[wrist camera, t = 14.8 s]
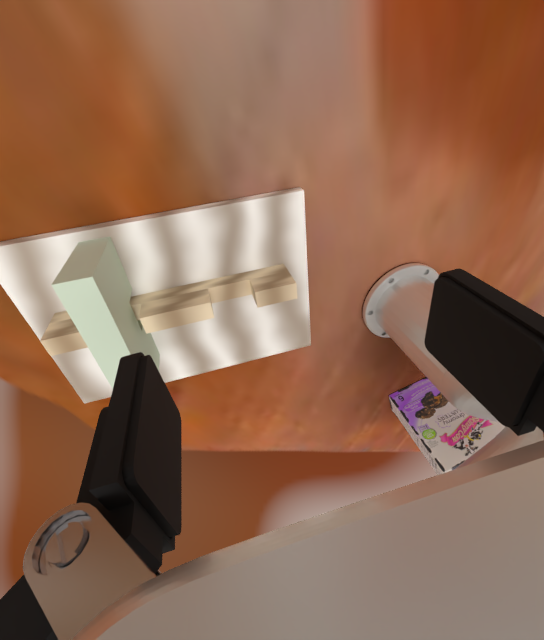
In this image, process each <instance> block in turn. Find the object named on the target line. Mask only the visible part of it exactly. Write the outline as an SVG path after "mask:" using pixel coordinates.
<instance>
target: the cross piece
mask: <svg viewBox="0 0 544 640" xmlns="http://www.w3.org/2000/svg"><path fill="white" fill-rule="evenodd" d="M52 287H53V289H54V290H55V292H56V294H57V295H58V297H59V299H60V301H61V302H62V304H63V306H64V307H65V309H66V311H67V312H68V314H69V316H70V318H71V319H72V321H73V323H74V324H75V326H76V328H77V329H78V331H79V333H80V334H81V336H82V338H83V340H84V341H85V343H86V345H87V346H88V348H89V350H90V351H91V353H92V355H93V357H94V358H95V360H96V362H97V363H98V365H99V367H100V368H101V370H102V372H103V374H104V375H105V377H106V379H107V380H108V382H109V384H110V385H111V387H112V389H113V387H114V382H115V378H116V374H117V370H118V366H119V361H120V359H121V357H124V356H127V355H131V354H135V353H139V352H142V353H143V354H144V355H145V356H146V355H150V356H151V357H152V359H153V361H154V363H155V365H156V367H157V369H158V371H159V362H160V354H159V351H158V349H157V347H156V344H155V342H154V340H153V337H152V335H151V333H148V334H146V332H145V330H144V328H143V325H142V323H141V321H140V320H137V319H136V317H135V314H134V312H133V310H132V307H131V305H130V303H129V302H130V298H131V293H132V287H131V285H130V282H129V280H128V278H127V275H126V273H125V270H124V268H123V266H122V263H121V261H120V259H119V256H118V254H117V251H116V249H115V247H114V244H113V242H112V239H111V237H104V238H99V239H94V240H88V241H83V242H78V244H77V246H76V247H75V249H74V250H73V252H72V253H71V255H70V257H69V258H68V260H67V261H66V263H65V264H64V266H63V267H62V269H61V271H60V272H59V274H58V275H57V277H56V278H55V280H54V281H53V283H52Z"/></svg>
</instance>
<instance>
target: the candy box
mask: <svg viewBox="0 0 544 640" xmlns="http://www.w3.org/2000/svg"><path fill="white" fill-rule="evenodd" d="M389 400H390V404H391V409H392V411H393V412H394V413H395V415H396V416H397V417H398V419H399V420H400V422H401V423H402V424H403V426H404V427H405V429H406V430H407V432H408V433H409V434H410V436H411V437H412V439H413V440H414V442H415V443H416V445H417V446H418V448H419V449H420V450H421V452H422V453H423V455H424V456H425V458H426V459H427V460H428V462H429V463H430V465H431V466H432V467H433V469H434V470H435V472H436V473H437V475H440V474H443V473H446V472H449V471H452V470H455V469H456V468H457V467H458V466H459V465H460V464H462V463H463V462H464V461H465V460H466V459H468V458H469V457H470V456H472V455H473V454H474V453H476V452H477V451H478V450H479V449H481V448H482V447H483V446H485V445H486V444H487V443H488V442H490V441H491V440H492V439H494V438H495V437H496V435H497V434H499V433H500V432H501V431H502V430H503V429H504V428H505V426H503V425H502V424H501V423H500V422H495V421H490V420H484V419H480V418H476V417H473V416H470V415H467V414H465V413H463V412H462V411H460V410H458V409H457V408H456V407H454V406H453V405H452V404H451V403H450V402H449V401H448V400H447V399H446V398H445V397H444V396H443V395H442V393H441V392H440V391H439V390H438V389H437V388H436V387H435V386H434V385H433V384H432V383H431V381H430V380H429V379H428V378H427V377H426V378H424V379H422V380H420V381H418V382H415V383H413V384H411V385H409V386H407V387H405V388H403V389H401V390H399V391H397V392H394V393H392V394H390V395H389Z"/></svg>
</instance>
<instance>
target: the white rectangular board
mask: <svg viewBox="0 0 544 640" xmlns="http://www.w3.org/2000/svg"><path fill="white" fill-rule="evenodd" d="M104 237H111V239H112V242H113V244H114V247H115V249H116V251H117V254H118V256H119V259H120V261H121V263H122V266H123V268H124V270H125V273H126V275H127V278H128V280H129V282H130V285H131V287H132V293H131V298H130V302H129V303H130V305H131V307H132V310H133V312H134V314H135V317H136V319H137V320H140V321H141V323H142V325H143V328H144V330H145V332H146V334H148V333H151V335H152V337H153V340H154V342H155V344H156V347H157V349H158V351H159V354H160V362H159V373H160V375H161V377H162V379H163V381H164V383H166V382H170V381H174V380H178V379H181V378H185V377H189V376H193V375H197V374H201V373H205V372H209V371H213V370H216V369H220V368H224V367H228V366H232V365H236V364H240V363H244V362H248V361H251V360H255V359H259V358H263V357H267V356H271V355H275V354H279V353H282V352H286V351H290V350H294V349H298V348H302V347H306V346H310V345H311V335H310V313H309V290H308V268H307V246H306V223H305V201H304V190H303V189H301V188H300V187H298V188H292V189H287V190H281V191H276V192H270V193H265V194H259V195H254V196H248V197H243V198H237V199H232V200H226V201H221V202H215V203H210V204H204V205H199V206H193V207H188V208H182V209H177V210H171V211H166V212H161V213H155V214H150V215H144V216H139V217H133V218H128V219H122V220H117V221H111V222H106V223H100V224H95V225H89V226H84V227H78V228H73V229H67V230H62V231H56V232H51V233H45V234H40V235H34V236H29V237H23V238H18V239H12V240H7V241H1V242H0V284H1V285H2V287H3V288H4V290H5V291H6V293H7V294H8V295H9V297H10V298H11V300H12V301H13V303H14V304H15V305H16V307H17V308H18V310H19V311H20V312H21V314H22V315H23V317H24V318H25V320H26V321H27V322H28V324H29V325H30V327H31V328H32V330H33V331H34V332H35V334H36V335H37V337H38V338H39V340H40V342H41V343H42V345H43V346H44V347H45V349H46V350H47V352H48V353H49V355H50V356H51V357H52V358H53V359H54V361H55V362H56V364H57V365H58V367H59V368H60V369H61V371H62V372H63V374H64V375H65V376H66V378H67V379H68V381H69V382H70V384H71V385H72V386H73V388H74V389H75V391H76V392H77V394H78V395H79V396H80V398H81V399H82V401H83V402H84V403H88V402H92V401H96V400H100V399H104V398H108V397H111V395H112V391H113V389H112V387H111V385H110V384H109V382H108V380H107V379H106V377H105V375H104V374H103V372H102V370H101V368H100V367H99V365H98V363H97V362H96V360H95V358H94V357H93V355H92V353H91V351H90V350H89V348H88V346H87V345H86V343H85V341H84V340H83V338H82V336H81V334H80V333H79V331H78V329H77V328H76V326H75V324H74V323H73V321H72V319H71V318H70V316H69V314H68V312H67V311H66V309H65V307H64V306H63V304H62V302H61V301H60V299H59V297H58V295H57V294H56V292H55V290H54V289H53V287H52V283H53V281H54V280H55V278H56V277H57V275H58V274H59V272H60V271H61V269H62V267H63V266H64V264H65V263H66V261H67V260H68V258H69V257H70V255H71V253H72V252H73V250H74V249H75V247H76V246H77V244H78V242H83V241H88V240H94V239H99V238H104Z"/></svg>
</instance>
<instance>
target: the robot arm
mask: <svg viewBox="0 0 544 640" xmlns="http://www.w3.org/2000/svg"><path fill="white" fill-rule="evenodd" d="M363 320H364V322H365V325H366V326H367V327H368V329H369V330H370V331H371V332H372V333H373V334H375V335H377V336H379V337H384V338H391V339H392V340H393V341H394V342H395V343H396V344H397V345H398V346H399V347H400V349H401V350H402V351H403V352H404V353H405V354H406V355H407V356H408V357H409V358H410V360H411V361H412V362H413V363H414V364H415V365H416V366H417V367H418V368H419V369H420V370H421V372H422V373H423V374H424V375H425V376H426V377H427V378H428V379H429V380H430V381H431V383H432V384H433V385H434V386H435V387H436V388H437V389H438V390H439V391H440V392H441V393H442V395H443V396H444V397H445V398H446V399H447V400H448V401H449V402H450V403H451V404H452V405H453V406H454V407H456V408H457V409H458V410H460V411H462V412H463V413H465V414H467V415H470V416H473V417H476V418H480V419H484V420H490V421H495V422H500V423H501V424H502V425H503V426H505V428H504V429H503V430H502V431H501V432H500V433H499V434H497V435H496V437H495V438H494V439H492V440H491V441H490V442H488V443H487V444H486V445H485V446H483V447H482V448H481V449H479V450H478V451H477V452H476V453H474V454H473V455H472V456H470V457H469V458H468V459H466V460H465V461H464V462H463V463H462V464H460V465H459V466H458V467H457V468H456V469H455V470H452V471H449V472H446V473H443V474H440V475H437V476H434V477H431V478H428V479H425V480H422V481H419V482H416V483H413V484H410V485H407V486H404V487H401V488H398V489H395V490H392V491H389V492H386V493H383V494H380V495H377V496H374V497H371V498H368V499H365V500H362V501H359V502H356V503H353V504H350V505H347V506H345V507H341V508H339V509H336V510H333V511H330V512H327V513H324V514H321V515H318V516H315V517H312V518H309V519H306V520H304V521H300V522H297V523H295V524H291V525H289V526H286V527H283V528H280V529H277V530H274V531H271V532H268V533H265V534H262V535H260V536H257V537H254V538H252V539H249V540H246V541H243V542H240V543H238V544H235V545H232V546H229V547H227V548H224V549H221V550H218V551H216V552H213V553H210V554H207V555H204V556H202V557H199V558H197V559H194V560H192V561H190V562H188V563H185V564H182V565H180V566H178V567H175V568H173V569H171V570H168V571H166V572H164V573H161V572H160V571H159V570H158V569H159V567H160V566H161V565H162V554H163V553H166V552H168V551H172V550H174V549H175V536H176V535H179V534H180V533H181V417H180V413H179V411H178V409H177V407H176V405H175V403H174V401H173V399H172V397H171V395H170V393H169V391H168V389H167V387H166V385H165V383H164V381H163V379H162V377H161V375H160V373H159V371H158V369H157V367H156V365H155V363H154V361H153V359H152V357H151V356H150V355H146V356H145V355H144V354H143V353H142V352H139V353H135V354H131V355H127V356H124V357H121V359H120V361H119V366H118V370H117V374H116V378H115V382H114V387H113V391H112V395H111V399H110V403H109V406H108V407H105V408H103V409H102V410H101V413H100V415H99V419H98V423H97V427H96V430H95V434H94V438H93V442H92V446H91V450H90V454H89V457H88V461H87V465H86V469H85V472H84V476H83V480H82V484H81V488H80V491H79V495H78V499H77V503H76V504H72V505H69V506H67V507H65V508H63V509H61V510H59V511H58V512H57V513H55V514H54V515H53V516H52V517H50V518H49V519H48V520H47V521H46V522H45V523H44V524H43V525H42V526H41V527H40V528H39V529H38V531H37V532H36V534H35V535H34V537H33V538H32V540H31V541H30V543H29V546H28V548H27V550H26V553H25V555H24V563H23V570H24V575H23V576H22V577H21V578H20V579H19V580H18V581H17V583H16V584H15V585H14V586H13V587H12V588H11V589H10V590H9V591H8V592H7V593H6V594H5V595H4V596H3V597H2V598H1V599H0V640H544V317H543V316H541V315H539V314H538V313H536V312H534V311H533V310H531V309H529V308H527V307H526V306H524V305H522V304H521V303H519V302H517V301H516V300H514V299H512V298H510V297H509V296H507V295H505V294H504V293H502V292H500V291H498V290H497V289H495V288H493V287H492V286H490V285H488V284H486V283H485V282H483V281H481V280H480V279H478V278H476V277H475V276H473V275H471V274H469V273H468V272H466V271H464V270H462V269H455V270H451V271H447V272H443V273H441V274H440V275H439V274H438V273H437V272H436V271H435V270H434V269H432V268H431V267H429V266H427V265H425V264H421V263H409V264H405V265H402V266H399V267H397V268H395V269H393V270H391V271H390V272H388V273H387V274H385V275H384V276H383V277H382V278H380V279H379V280H378V281H377V282H376V284H375V285H374V286H373V287H372V289H371V290H370V291H369V293H368V295H367V297H366V299H365V302H364V306H363Z"/></svg>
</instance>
